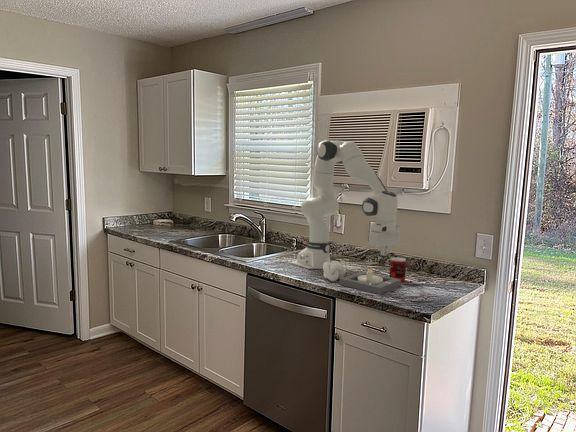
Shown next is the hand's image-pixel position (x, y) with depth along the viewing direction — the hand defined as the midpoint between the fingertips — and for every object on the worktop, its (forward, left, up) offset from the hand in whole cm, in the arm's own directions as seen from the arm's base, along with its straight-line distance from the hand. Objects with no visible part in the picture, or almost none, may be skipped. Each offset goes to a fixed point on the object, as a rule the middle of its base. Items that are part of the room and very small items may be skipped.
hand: (383, 254), depth 212 cm
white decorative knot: (-24, -7, -16) cm, 30 cm away
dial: (-5, -2, -14) cm, 15 cm away
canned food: (0, +16, -16) cm, 22 cm away
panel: (-5, -2, -16) cm, 17 cm away
